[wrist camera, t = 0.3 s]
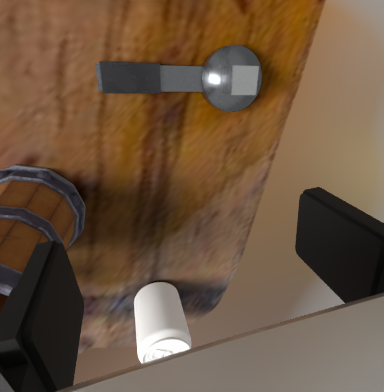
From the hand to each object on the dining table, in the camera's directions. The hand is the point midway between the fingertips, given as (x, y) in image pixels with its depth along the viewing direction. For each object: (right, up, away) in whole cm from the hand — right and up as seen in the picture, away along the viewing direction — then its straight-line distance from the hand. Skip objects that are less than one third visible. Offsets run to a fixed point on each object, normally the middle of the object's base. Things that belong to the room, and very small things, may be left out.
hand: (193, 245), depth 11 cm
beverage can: (-7, -17, +40) cm, 44 cm away
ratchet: (-2, +17, +26) cm, 31 cm away
